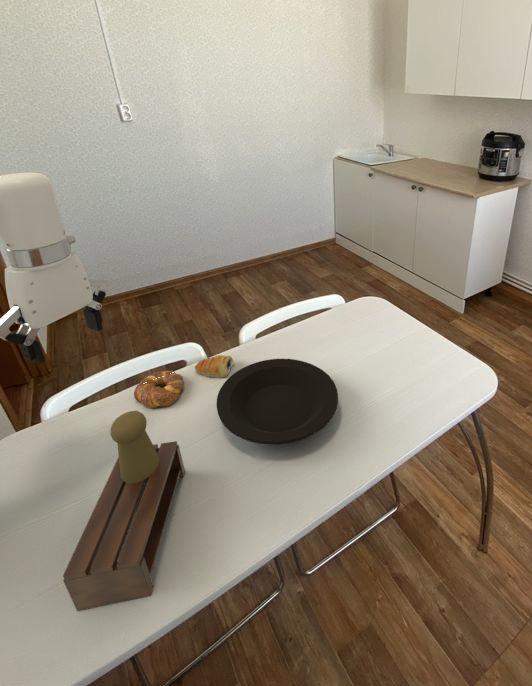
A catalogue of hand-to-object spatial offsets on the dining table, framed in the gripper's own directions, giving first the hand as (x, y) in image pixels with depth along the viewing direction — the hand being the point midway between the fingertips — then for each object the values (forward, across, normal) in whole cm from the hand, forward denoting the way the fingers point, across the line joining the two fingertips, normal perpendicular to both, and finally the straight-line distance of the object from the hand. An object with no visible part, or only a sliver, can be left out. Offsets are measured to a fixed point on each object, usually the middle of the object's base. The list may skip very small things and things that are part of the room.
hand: (68, 344), depth 66 cm
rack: (+29, +6, +16) cm, 34 cm away
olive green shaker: (+21, +1, +13) cm, 25 cm away
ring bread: (+29, -19, -6) cm, 36 cm away
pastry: (+29, -30, +1) cm, 42 cm away
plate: (+29, -24, +25) cm, 45 cm away
